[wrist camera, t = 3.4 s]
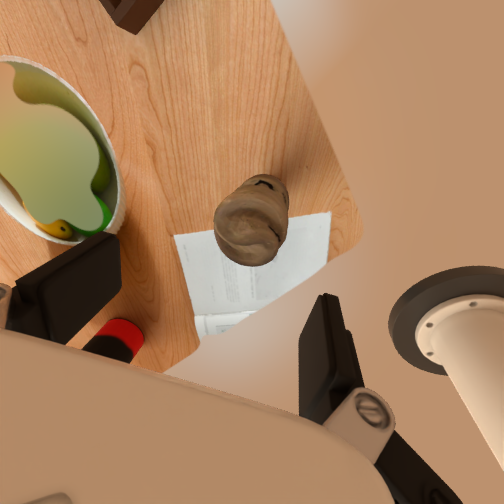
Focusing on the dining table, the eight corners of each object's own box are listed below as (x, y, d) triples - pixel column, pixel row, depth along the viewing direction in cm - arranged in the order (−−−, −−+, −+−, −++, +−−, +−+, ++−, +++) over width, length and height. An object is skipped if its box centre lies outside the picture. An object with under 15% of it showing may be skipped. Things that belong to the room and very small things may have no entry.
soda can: (105, 312, 45) (46, 371, 34) (145, 325, 44) (98, 388, 34) (107, 340, 48) (54, 401, 38) (144, 352, 48) (101, 417, 38)
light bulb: (242, 165, 29) (194, 203, 16) (290, 158, 28) (281, 192, 15) (250, 211, 31) (214, 278, 18) (294, 207, 30) (290, 275, 17)
